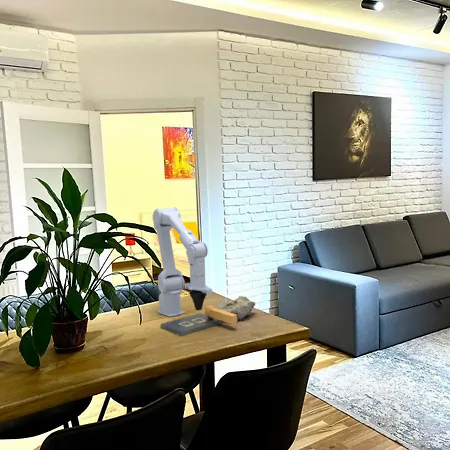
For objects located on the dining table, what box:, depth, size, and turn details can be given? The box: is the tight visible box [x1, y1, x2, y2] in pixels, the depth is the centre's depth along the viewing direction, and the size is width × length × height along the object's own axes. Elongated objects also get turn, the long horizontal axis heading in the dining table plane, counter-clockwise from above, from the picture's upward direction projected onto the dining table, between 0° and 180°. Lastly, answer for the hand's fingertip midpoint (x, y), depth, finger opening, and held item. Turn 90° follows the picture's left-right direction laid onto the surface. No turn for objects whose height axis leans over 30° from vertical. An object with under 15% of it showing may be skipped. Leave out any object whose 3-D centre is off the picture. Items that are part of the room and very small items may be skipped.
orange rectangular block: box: [204, 304, 238, 325], centre depth 175 cm, size 16×4×4 cm, turn 41°
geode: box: [216, 295, 256, 321], centre depth 185 cm, size 17×9×15 cm
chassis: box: [160, 312, 222, 337], centre depth 176 cm, size 13×19×2 cm
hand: (198, 309), depth 176 cm, fingers closed
